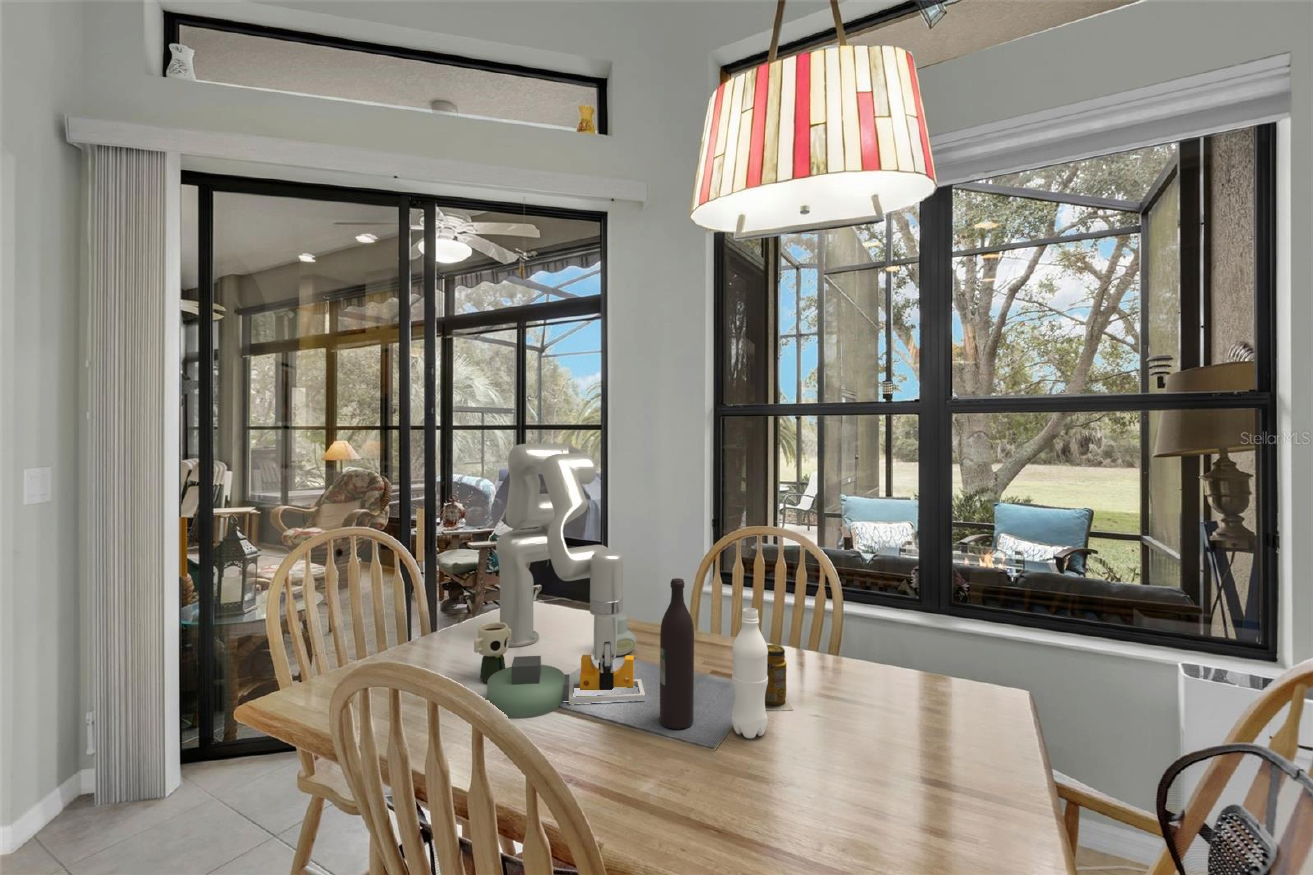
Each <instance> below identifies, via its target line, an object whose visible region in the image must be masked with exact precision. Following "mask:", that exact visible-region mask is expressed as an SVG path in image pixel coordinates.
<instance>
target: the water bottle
mask: <svg viewBox="0 0 1313 875" xmlns="http://www.w3.org/2000/svg"><path fill="white" fill-rule="evenodd" d="M741 622H742V625H741V629H740V631H739V632H738V634H737V636H736V638H735V640H734V642H733V645H732V650H731V652H732V674H731V681H732V684H733V689H734V690H733V691H734V702H733V708H732V711H731V712H732V713H731V723H732V726H733V727H732V728H733V729H734V732H735V733H736V734H737V735H741V734H742V735H743V737H744V738H746V739H755V737H756V736H759V737H761V736H763V735H764V733H765V731H766V729H767V728H768V726H767V725H768V721H769V720H768V715H767V710H765V692H766V688H767V684H768V676H767V655H768V648H767V645H768V644H767V643H766V640H765V639H764V636H763V635H762V633H761V631H760V628H759V623H760V618H759V610H758V609H757V608H754V607H744V608H743V609H742V619H741Z"/></svg>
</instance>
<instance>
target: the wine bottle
mask: <svg viewBox="0 0 1313 875" xmlns="http://www.w3.org/2000/svg"><path fill="white" fill-rule="evenodd" d="M670 588H671V597H670V603H669V604H668V607H667V609H666V610H665V613H664V615H663V617H662V620H661V623H660V624H661V625H660V632H659V635H660V636H659V637H660V639H659V645H660V646H659V721H660V725H662V726H663V727H664V728H667V729H670V728H671V729H672V730H683V729H682V728H684V729H688V728H690V727H691V726H693V723H694V706H695V705H694V704H695V702H694V700H695V699H694V696H695V695H694V693H695V692H694V691H695V688H694V686H695V683H694V682H695V681H694V680H695V676H694V674H695V673H694V672H695V666H694V665H695V628H694V627H695V625H694V622H693V618H692V616H691V614H690V612H689V610H688V608H687V606H686V603H685V598H684V588H685V581H684V579H683V578H680V577H679V578H672V579H671V581H670Z"/></svg>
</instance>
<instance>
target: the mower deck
mask: <svg viewBox="0 0 1313 875" xmlns="http://www.w3.org/2000/svg"><path fill="white" fill-rule="evenodd" d="M541 662H542V656H541V655H526V656H525V655H524V656H523V655H521V656H514V657H513V661H512V663H511V666H510V667H505V669H502V670H500V671H498V672H496V673H494V674H493V675H492V676H490V678H489V679H488V682H486V684H487V695H486V696H487V698H486V699H487V700H489V701H490V703H492V704H493V705H495V706H496V707H497V708H498V709H499V710H501V711H502V712H504V714H506V715H507V716H508V718H509V719H529V718H536V717H540V716H543V715H547V714H550V713H552V712H554V711H556V710H558V709H559V708H560V707H561V706H562V705H563V704H562V702H563V701H569V703H568V705H569V704H577V703H592V702H601V701H617V700H645V701H646V693H645V689H644V686H643V682H642V679H641V678H639V679H638V678H634V684H633V686H636V687H638V691H639V693H638V694H617V695H597V696H576V697H573V693H574V688H580V681H570V674H569V673H568V674H565V673H564V672H563V671H562V670H561V669H559V668H557V667H554V666H552V665H551V666H550V665H545V664H542V663H541ZM487 700H486V701H487ZM561 704H562V705H561ZM560 705H561V706H560ZM559 706H560V707H559Z"/></svg>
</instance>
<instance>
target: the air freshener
mask: <svg viewBox="0 0 1313 875" xmlns="http://www.w3.org/2000/svg"><path fill="white" fill-rule="evenodd" d="M636 645H637V638H636V636H635V634H634V633H633V632H631V631H630V630H628V616H627V615H626V614H624V613H622V614H620V615H618V622H617V650H616V657H623V656H626V655H627V654H629V653H630V652H632V651H633V650H634V649H635V647H636Z"/></svg>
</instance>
